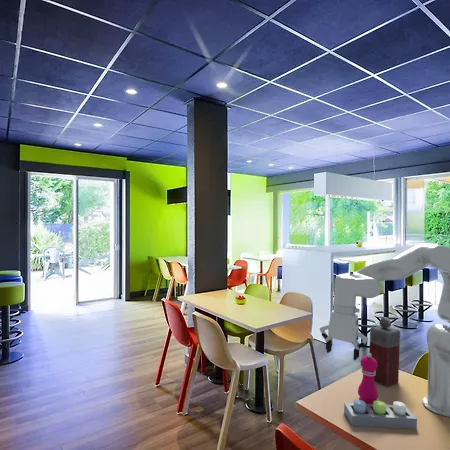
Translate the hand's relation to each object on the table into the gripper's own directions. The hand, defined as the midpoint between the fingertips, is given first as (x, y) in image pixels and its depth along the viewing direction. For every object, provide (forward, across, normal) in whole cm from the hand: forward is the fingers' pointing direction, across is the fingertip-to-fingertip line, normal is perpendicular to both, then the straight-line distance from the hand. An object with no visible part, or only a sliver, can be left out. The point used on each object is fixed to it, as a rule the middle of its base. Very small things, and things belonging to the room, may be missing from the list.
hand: (341, 355), depth 121 cm
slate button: (+19, -7, +1) cm, 20 cm away
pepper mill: (+21, -7, -12) cm, 25 cm away
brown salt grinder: (+20, -9, -38) cm, 44 cm away
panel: (+21, -13, -4) cm, 25 cm away
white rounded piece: (+18, -19, -7) cm, 27 cm away
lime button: (+19, -13, -3) cm, 23 cm away
